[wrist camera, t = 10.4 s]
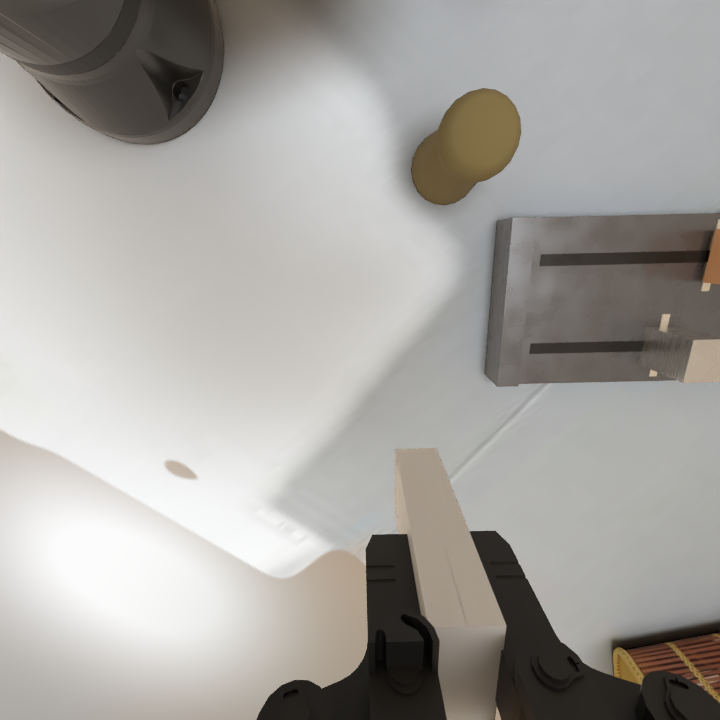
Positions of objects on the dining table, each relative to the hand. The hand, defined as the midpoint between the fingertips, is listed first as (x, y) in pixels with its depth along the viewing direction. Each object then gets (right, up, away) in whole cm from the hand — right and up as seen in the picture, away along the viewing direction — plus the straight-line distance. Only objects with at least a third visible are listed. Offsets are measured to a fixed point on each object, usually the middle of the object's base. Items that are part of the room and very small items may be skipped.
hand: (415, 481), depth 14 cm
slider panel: (+24, +10, +22) cm, 34 cm away
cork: (+6, +22, +19) cm, 29 cm away
